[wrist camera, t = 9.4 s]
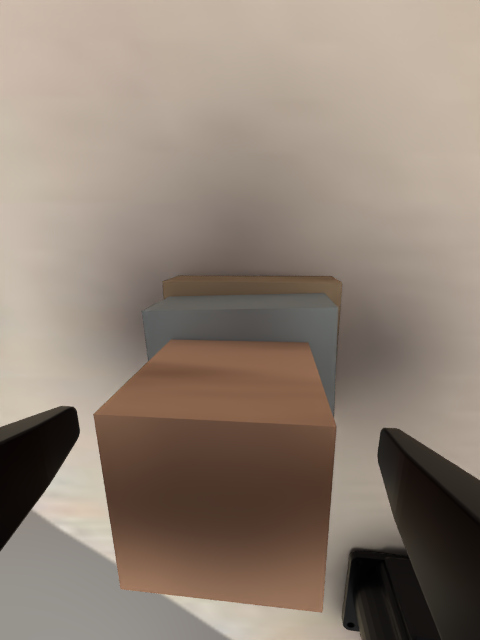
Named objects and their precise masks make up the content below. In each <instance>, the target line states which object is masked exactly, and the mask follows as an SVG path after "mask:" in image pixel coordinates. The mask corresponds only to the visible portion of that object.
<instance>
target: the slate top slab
mask: <svg viewBox="0 0 480 640" xmlns="http://www.w3.org/2000/svg"><path fill="white" fill-rule="evenodd" d="M142 316H143V324H144V331H145V339H146V347H147V355H148V361H149V360H150V359H151V358H152V357H153V356H154V355H155V354H156V353H158V352H159V351H160V350H161V349H162V348H163V347H164V346H165V345H166V344H167V343H168V342H169V341H170V340H171V339H172V340H219V341H267V342H308V343H309V346H310V349H311V352H312V355H313V358H314V361H315V364H316V367H317V370H318V373H319V376H320V379H321V382H322V385H323V388H324V391H325V394H326V397H327V400H328V403H329V406H330V409H331V412H332V415H333V418H334V401H335V375H336V349H337V323H338V307H337V306H336V305H335V304H334V303H333V301H332V300H331V299H330V298H329V297H328V296H327V295H326V294H325V293H300V294H256V295H213V296H170V297H168V298H166V299H164V300H162V301H160V302H158V303H156V304H154V305H152V306H150V307H148V308H146V309H145V310H143V311H142Z"/></svg>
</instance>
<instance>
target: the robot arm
mask: <svg viewBox="0 0 480 640" xmlns="http://www.w3.org/2000/svg"><path fill="white" fill-rule="evenodd" d="M79 434H80V428H79V422H78V415H77V410H76V409H75V408H74V407H70V406H60V407H57V408H54V409H51V410H48V411H45V412H42V413H39V414H37V415H34V416H31V417H28V418H25V419H22V420H19V421H17V422H14V423H11V424H8V425H5V426H2V427H0V551H1V550H2V549H3V547H4V546H5V544H6V543H7V542H8V540H9V539H10V538H11V536H12V535H13V533H14V532H15V531H16V530H17V528H18V527H19V526H20V524H21V523H22V521H23V520H24V519H25V517H26V516H27V515H28V513H29V512H30V511H31V509H32V508H33V507H34V505H35V504H36V503H37V501H38V500H39V498H40V497H41V496H42V494H43V493H44V492H45V490H46V489H47V487H48V486H49V485H50V483H51V481H52V480H53V478H54V477H55V475H56V474H57V472H58V470H59V469H60V467H61V465H62V464H63V462H64V461H65V459H66V457H67V456H68V454H69V452H70V451H71V449H72V447H73V446H74V444H75V443H76V441H77V439H78V437H79ZM378 463H379V467H380V470H381V474H382V477H383V481H384V485H385V488H386V492H387V495H388V499H389V503H390V506H391V510H392V513H393V516H394V519H395V522H396V525H397V528H398V530H399V533H400V535H401V538H402V540H403V543H404V545H405V548H406V551H407V553H408V556H400V555H391V554H382V553H373V552H365V551H354V552H352V553H351V554H350V556H349V564H348V572H347V580H346V588H345V596H344V604H343V612H342V620H343V626H344V627H345V628H346V629H347V630H352V631H359V632H360V635H361V639H362V640H480V480H478V479H477V478H475V477H474V476H472V475H471V474H469V473H467V472H466V471H464V470H463V469H461V468H460V467H458V466H456V465H455V464H453V463H452V462H450V461H449V460H447V459H445V458H444V457H442V456H441V455H439V454H437V453H436V452H434V451H433V450H431V449H430V448H428V447H426V446H425V445H423V444H422V443H420V442H419V441H417V440H415V439H414V438H412V437H411V436H409V435H407V434H406V433H404V432H403V431H401V430H400V429H397V428H383V429H382V430H381V433H380V439H379V447H378Z"/></svg>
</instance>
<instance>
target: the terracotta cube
mask: <svg viewBox="0 0 480 640" xmlns="http://www.w3.org/2000/svg"><path fill="white" fill-rule="evenodd" d="M93 415H94V421H95V428H96V434H97V440H98V447H99V453H100V460H101V466H102V472H103V479H104V485H105V492H106V498H107V504H108V511H109V517H110V524H111V530H112V536H113V543H114V549H115V556H116V562H117V568H118V575H119V581H120V588H121V589H124V590H133V591H142V592H150V593H159V594H167V595H176V596H185V597H193V598H202V599H211V600H219V601H228V602H236V603H245V604H254V605H262V606H271V607H279V608H288V609H297V610H305V611H314V612H322V610H323V597H324V584H325V571H326V558H327V544H328V531H329V518H330V505H331V492H332V479H333V466H334V453H335V439H336V424H335V421H334V418H333V415H332V412H331V409H330V406H329V403H328V400H327V397H326V394H325V391H324V388H323V385H322V382H321V379H320V376H319V373H318V370H317V367H316V364H315V361H314V358H313V355H312V352H311V349H310V346H309V343H308V342H267V341H219V340H172V339H171V340H170V341H169V342H168V343H167V344H166V345H165V346H164V347H163V348H162V349H161V350H160V351H159V352H158V353H156V354H155V355H154V356H153V357H152V358H151V359H150V360H149V361H148V362H147V363H146V364H145V365H144V366H143V367H142V368H141V369H140V370H139V371H138V372H137V373H136V374H135V375H134V376H133V377H132V378H131V379H130V380H129V381H127V382H126V383H125V384H124V385H123V386H122V387H121V388H120V389H119V390H118V391H117V392H116V393H115V394H114V395H113V396H112V397H111V398H110V399H109V400H108V401H107V402H106V403H105V404H104V405H103V406H102V407H101V408H100V409H98V410H97V411H96V412H95V413H94V414H93Z"/></svg>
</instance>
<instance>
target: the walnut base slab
mask: <svg viewBox="0 0 480 640" xmlns="http://www.w3.org/2000/svg"><path fill="white" fill-rule="evenodd" d="M300 293H325V294H326V295H327V296H328V297H329V298H330V299H331V300H332V301H333V303H334V304H335V305H336V306H337V307H338V323H337V345H338V332H339V319H340V306H341V293H342V282H340V281H339V280H337V279H335V278H334V277H332V276H177V277H174V278H171V279H168V280H166V281H163V296H164V299H166V298H168V297H170V296H213V295H256V294H300ZM336 358H337V349H336Z"/></svg>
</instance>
